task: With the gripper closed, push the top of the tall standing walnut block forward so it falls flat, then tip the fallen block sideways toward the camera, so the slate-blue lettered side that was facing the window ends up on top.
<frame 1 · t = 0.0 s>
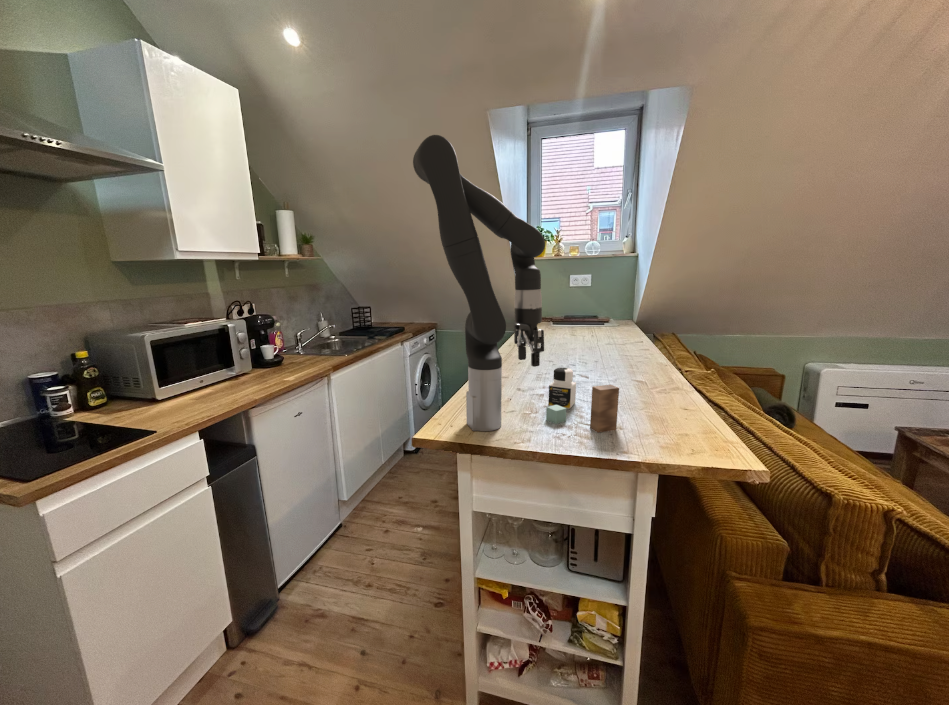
hand: (528, 362, 114), 17 cm above the table, tool pointing down, fingers open, 8 cm apart
pale green block: (555, 420, 117), on the table
walnut block: (603, 429, 111), on the table
medicine bottle: (561, 404, 131), on the table
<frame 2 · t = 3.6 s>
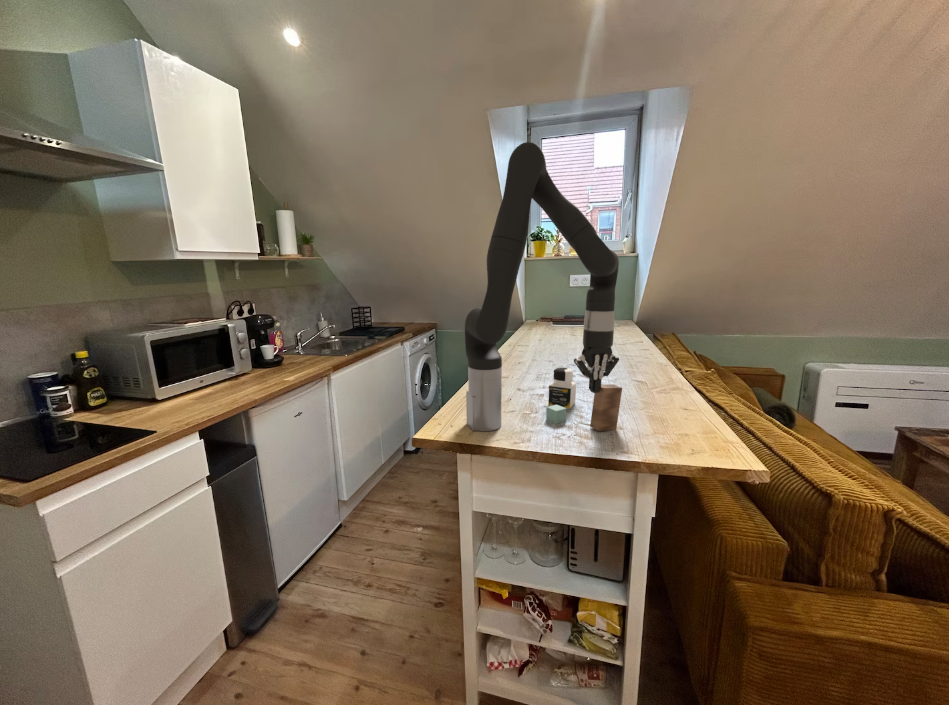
hand: (594, 391, 107), 11 cm above the table, tool pointing down, fingers closed
walnut block: (603, 428, 111), on the table, touching gripper
everything else where it was.
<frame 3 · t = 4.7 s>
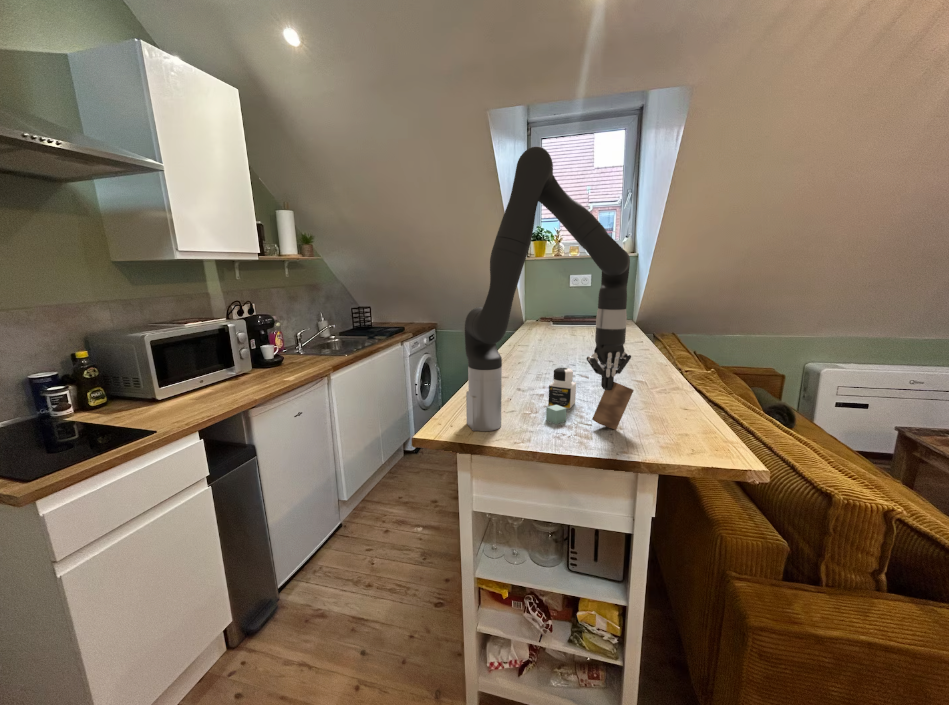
hand: (607, 389, 109), 11 cm above the table, tool pointing down, fingers closed
walnut block: (603, 424, 111), point 1 cm above the table, tilted 24°
everything else where it was.
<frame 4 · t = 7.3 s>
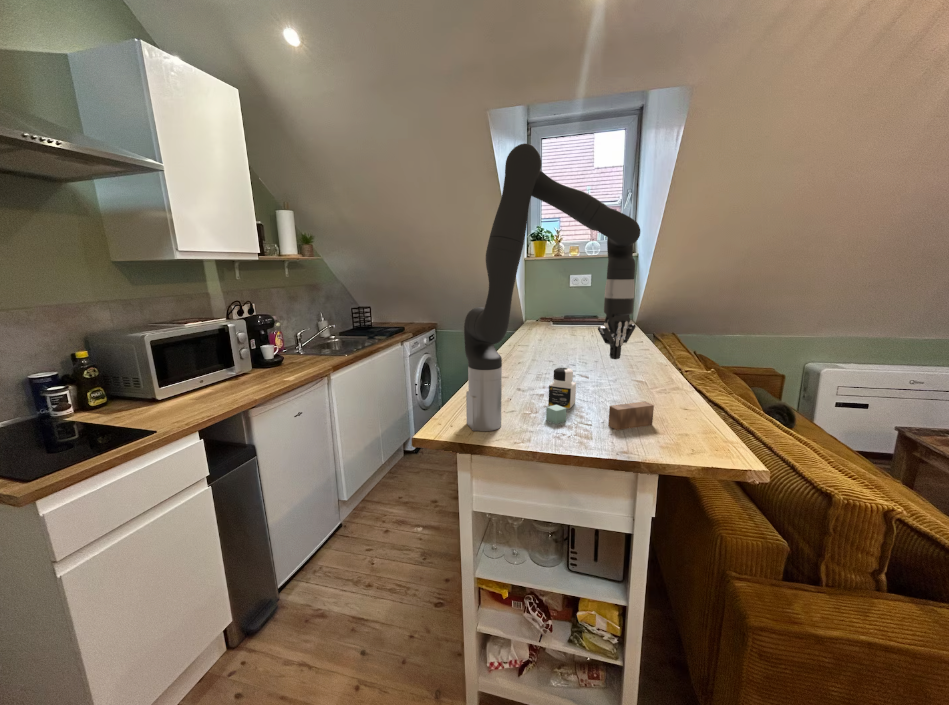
hand: (615, 358, 112), 19 cm above the table, tool pointing down, fingers closed
walnut block: (612, 418, 111), point 3 cm above the table, tilted 90°
everything else where it was.
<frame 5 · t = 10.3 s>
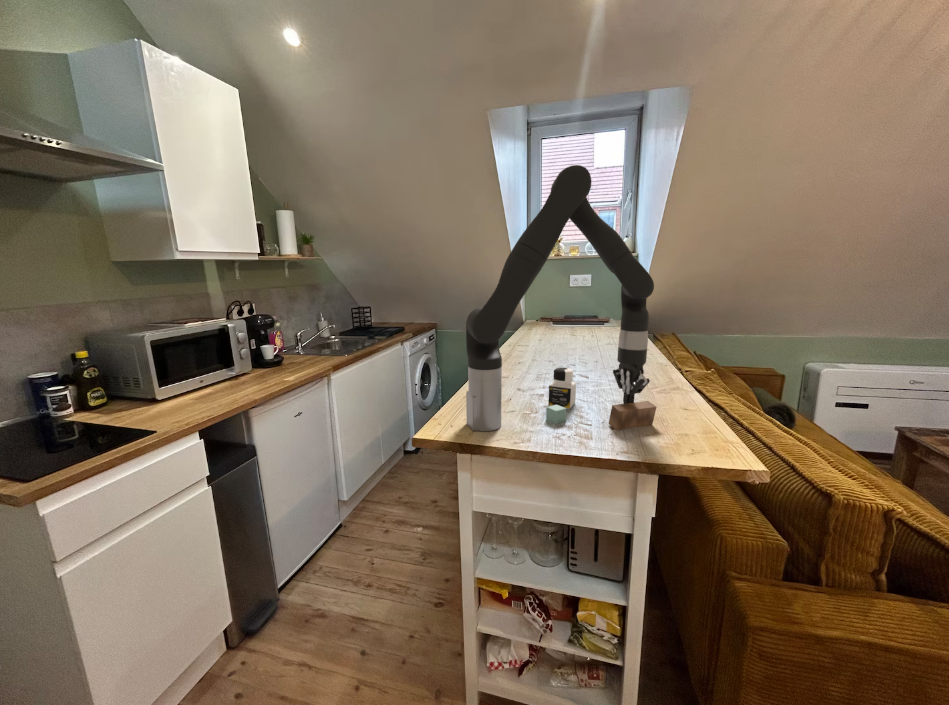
hand: (628, 405, 115), 5 cm above the table, tool pointing down, fingers closed
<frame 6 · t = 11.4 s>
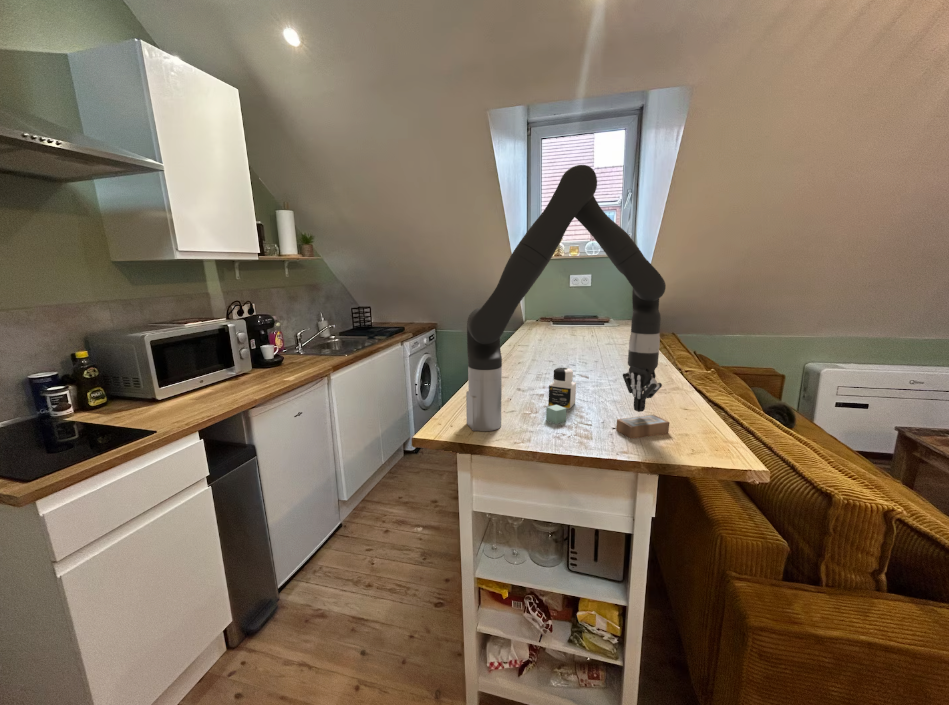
hand: (638, 410, 111), 5 cm above the table, tool pointing down, fingers closed
walnut block: (623, 429, 107), point 1 cm above the table, tilted 90°
everything else where it was.
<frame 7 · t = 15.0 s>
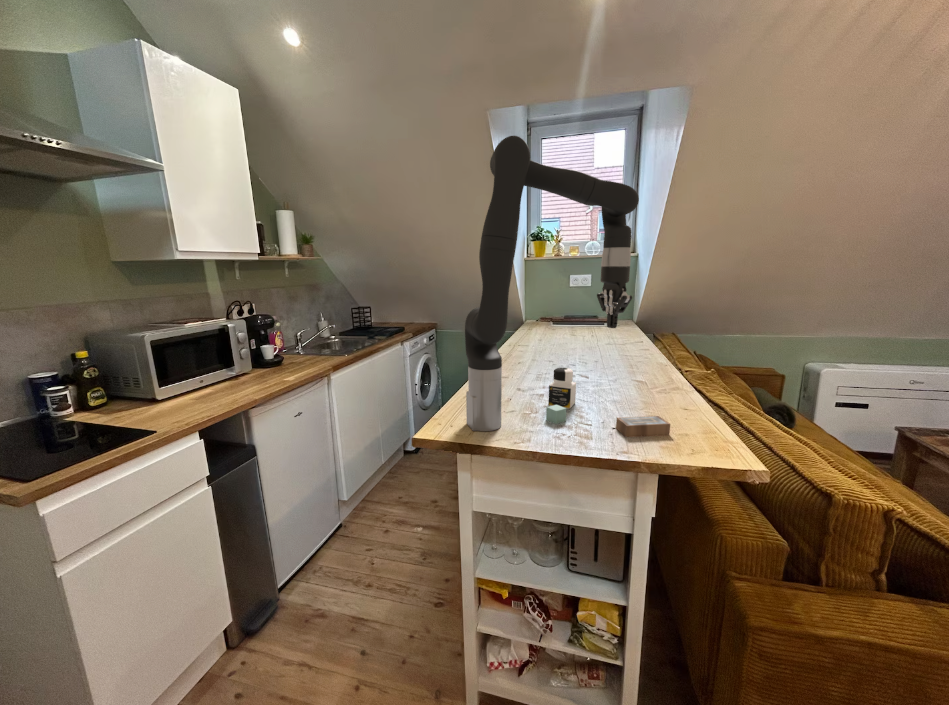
hand: (611, 327, 114), 27 cm above the table, tool pointing down, fingers closed
walnut block: (621, 427, 108), point 1 cm above the table, tilted 90°
everything else where it was.
at the end: walnut block tilted 90°; walnut block inside the target area (4.5 cm from its centre), point 1.4 cm above the table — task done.
